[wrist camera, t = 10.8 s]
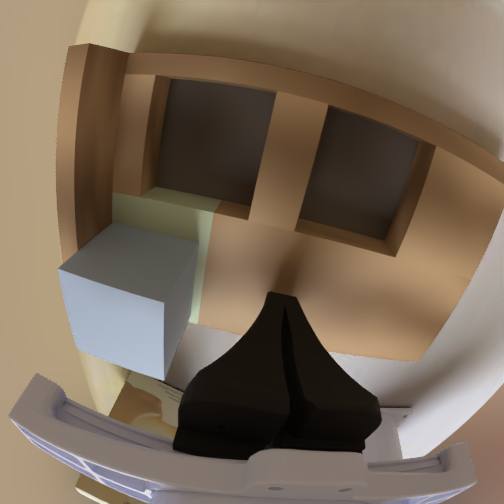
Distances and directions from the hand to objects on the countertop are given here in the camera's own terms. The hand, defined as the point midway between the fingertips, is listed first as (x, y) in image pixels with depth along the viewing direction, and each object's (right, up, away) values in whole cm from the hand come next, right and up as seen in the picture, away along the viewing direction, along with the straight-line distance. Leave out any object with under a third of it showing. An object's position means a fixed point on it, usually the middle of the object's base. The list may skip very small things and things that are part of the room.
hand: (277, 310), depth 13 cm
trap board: (+1, +4, +1) cm, 5 cm away
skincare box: (-9, -10, +10) cm, 17 cm away
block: (-6, +2, +1) cm, 6 cm away
